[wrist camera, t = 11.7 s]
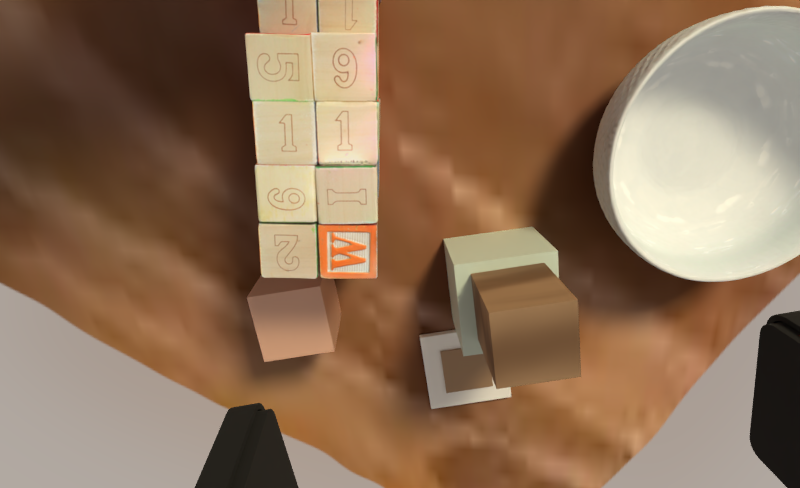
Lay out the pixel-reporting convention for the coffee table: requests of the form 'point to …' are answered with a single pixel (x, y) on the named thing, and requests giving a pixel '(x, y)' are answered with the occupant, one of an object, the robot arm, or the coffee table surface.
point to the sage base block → (488, 256)
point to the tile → (456, 372)
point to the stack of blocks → (316, 136)
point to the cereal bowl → (708, 148)
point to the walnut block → (526, 325)
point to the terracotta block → (295, 316)
